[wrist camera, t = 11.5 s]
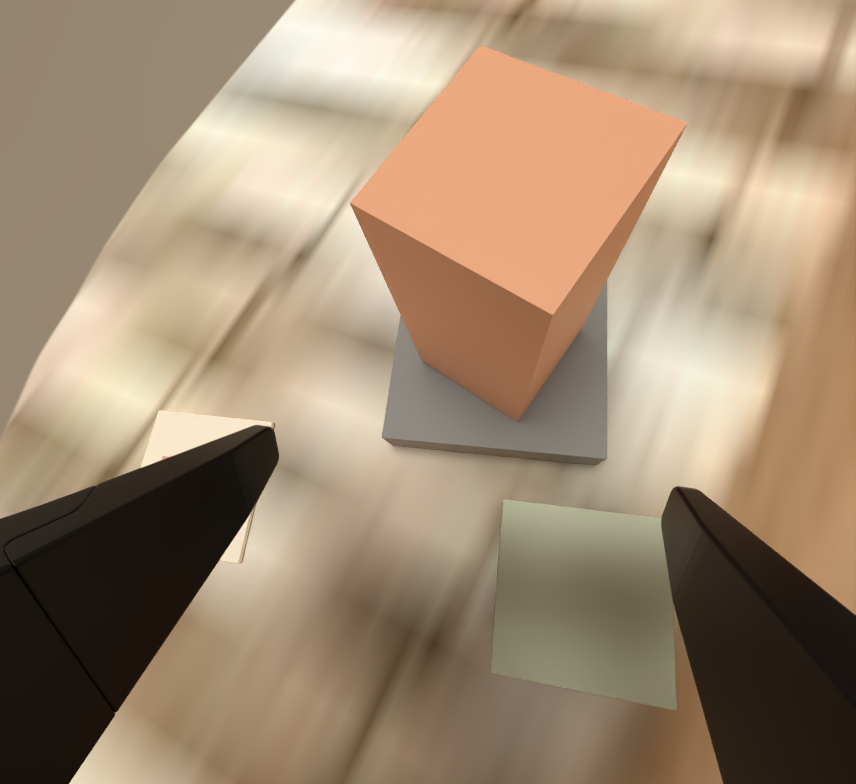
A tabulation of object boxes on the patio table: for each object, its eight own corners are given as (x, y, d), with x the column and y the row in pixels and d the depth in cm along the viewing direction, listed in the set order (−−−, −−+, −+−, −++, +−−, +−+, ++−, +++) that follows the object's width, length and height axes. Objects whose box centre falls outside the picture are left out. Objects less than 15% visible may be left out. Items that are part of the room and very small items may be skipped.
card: (241, 562, 23) (236, 563, 23) (121, 541, 25) (115, 541, 24) (274, 423, 25) (271, 421, 25) (162, 411, 27) (157, 409, 26)
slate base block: (592, 466, 22) (606, 458, 19) (395, 447, 24) (381, 437, 21) (594, 286, 25) (607, 256, 23) (418, 282, 27) (410, 254, 25)
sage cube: (624, 654, 19) (676, 710, 13) (493, 630, 20) (490, 673, 15) (623, 519, 21) (670, 519, 15) (502, 504, 22) (503, 499, 16)
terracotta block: (517, 422, 21) (552, 315, 9) (421, 360, 22) (349, 202, 11) (581, 328, 21) (687, 123, 10) (484, 275, 23) (480, 45, 12)
